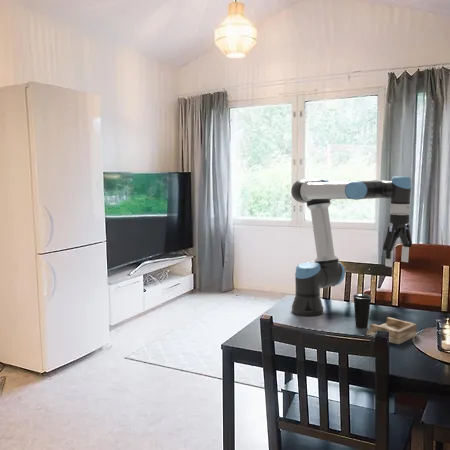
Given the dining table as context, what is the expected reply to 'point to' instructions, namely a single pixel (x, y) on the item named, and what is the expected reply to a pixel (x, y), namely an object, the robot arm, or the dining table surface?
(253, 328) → the dining table surface
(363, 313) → the drinking cup
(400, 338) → the tray
